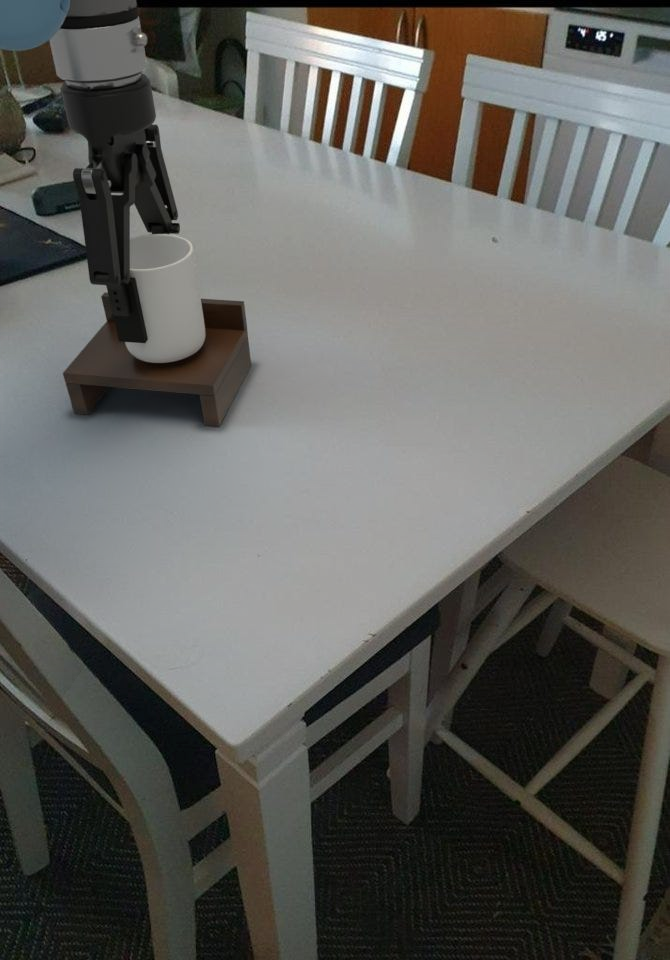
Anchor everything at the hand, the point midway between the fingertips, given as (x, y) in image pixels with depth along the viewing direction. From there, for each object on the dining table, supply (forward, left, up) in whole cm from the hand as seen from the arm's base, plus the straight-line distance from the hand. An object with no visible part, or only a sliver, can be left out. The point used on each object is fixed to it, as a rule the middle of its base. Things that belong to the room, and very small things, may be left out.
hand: (151, 316), depth 83 cm
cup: (0, +1, -3) cm, 3 cm away
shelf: (0, 0, -9) cm, 9 cm away
